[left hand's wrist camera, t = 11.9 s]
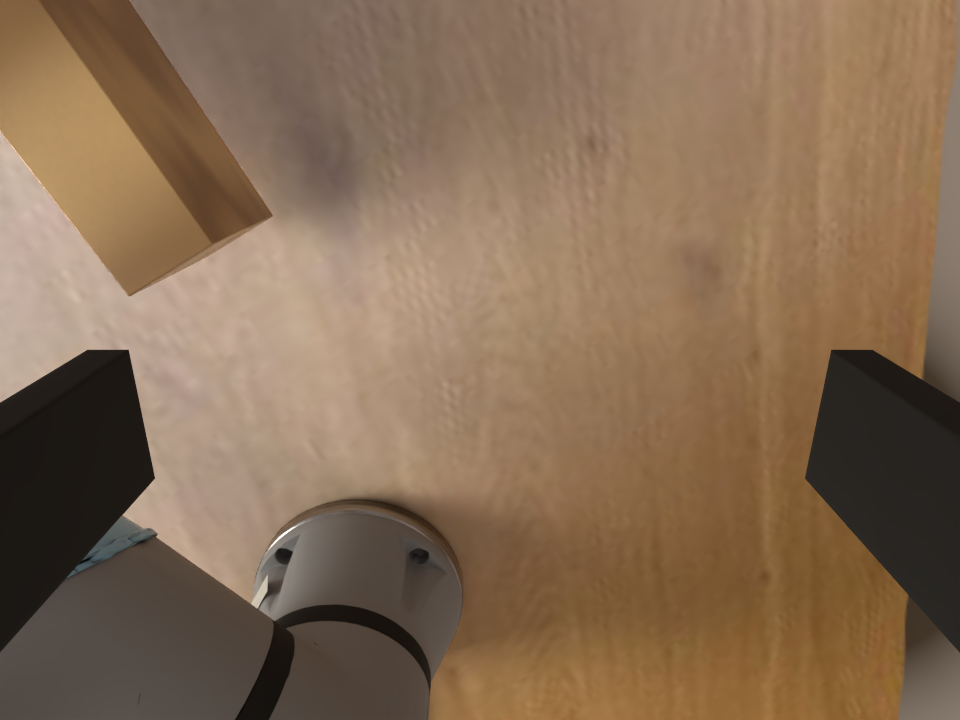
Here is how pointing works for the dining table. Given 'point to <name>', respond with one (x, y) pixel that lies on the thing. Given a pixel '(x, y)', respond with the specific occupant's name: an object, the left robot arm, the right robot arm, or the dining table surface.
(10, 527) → the left robot arm
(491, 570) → the dining table surface
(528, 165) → the dining table surface
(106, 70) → the bar
